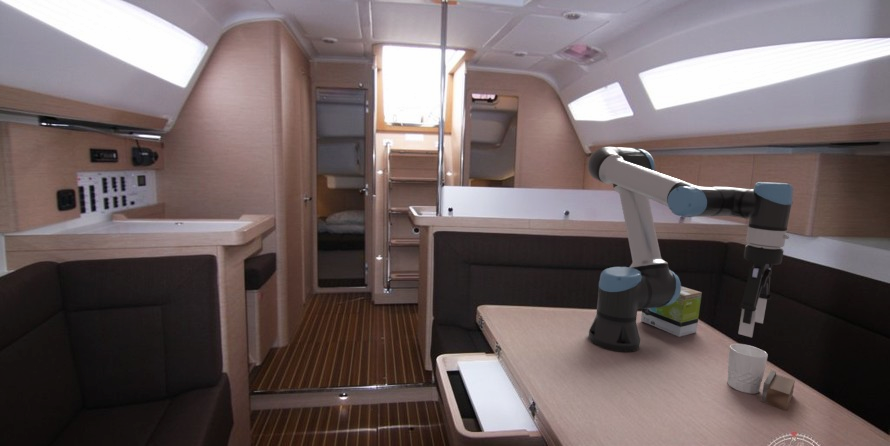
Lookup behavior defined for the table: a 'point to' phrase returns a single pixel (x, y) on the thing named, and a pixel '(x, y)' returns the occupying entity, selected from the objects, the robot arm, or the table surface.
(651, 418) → the table surface
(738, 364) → the white cup
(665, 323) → the tea box
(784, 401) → the block
